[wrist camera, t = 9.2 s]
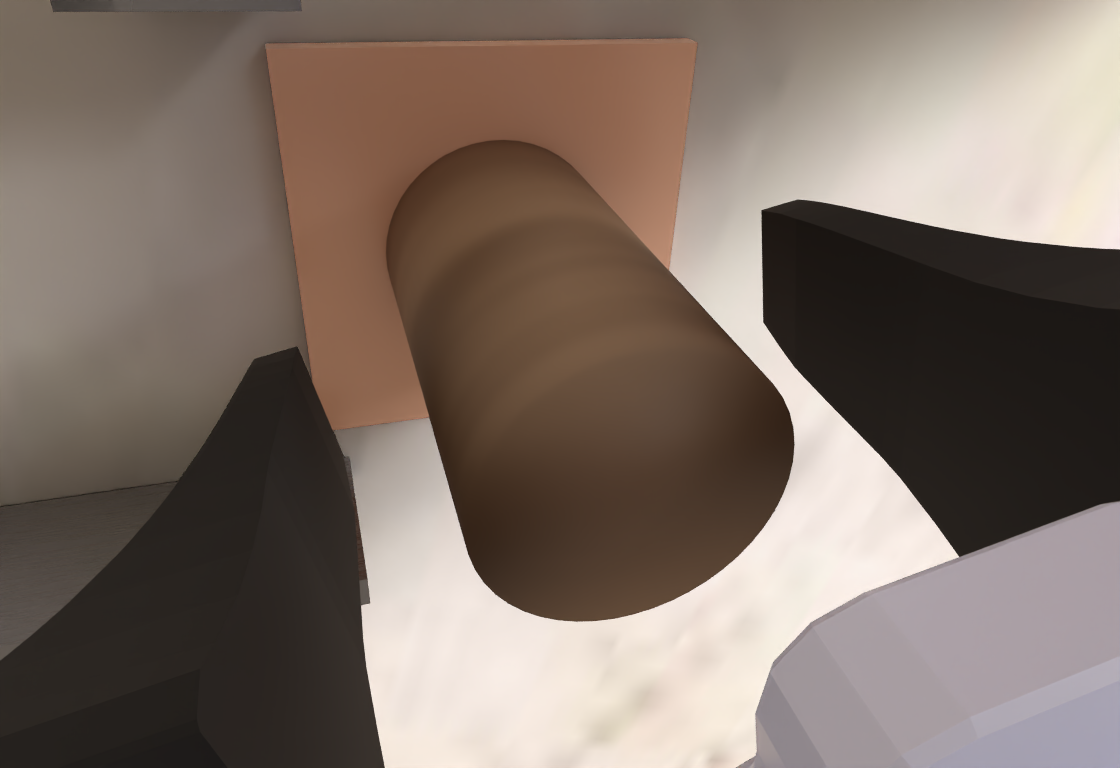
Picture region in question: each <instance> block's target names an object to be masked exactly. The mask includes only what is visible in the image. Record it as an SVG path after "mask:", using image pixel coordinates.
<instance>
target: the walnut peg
mask: <svg viewBox="0 0 1120 768" xmlns="http://www.w3.org/2000/svg"><path fill="white" fill-rule="evenodd" d="M386 260H387V268H388V273H389V277H390V281H391V284H392V288H393V291H394V295H395V298H396V302H397V305H398V309H399V312H400V316H401V319H402V323H403V326H404V330H405V333H406V337H407V340H408V344H409V348H410V351H411V355H412V358H413V362H414V365H415V369H416V372H417V376H418V379H419V383H420V386H421V390H422V393H423V397H424V400H425V404H426V407H427V411H428V414H429V418H430V421H431V425H432V428H433V432H434V435H435V439H436V442H437V446H438V449H439V453H440V456H441V460H442V463H443V467H444V471H445V474H446V478H447V481H448V485H449V488H450V492H451V495H452V499H453V502H454V506H455V509H456V513H457V516H458V520H459V523H460V527H461V530H462V534H463V537H464V541H465V544H466V548H467V551H468V555H469V557H470V559H471V562H472V564H473V566H474V568H475V570H476V572H477V573H478V575H479V576H480V578H481V579H482V580H483V582H484V583H485V584H486V585H487V586H488V587H489V588H490V589H491V590H492V591H493V592H494V593H495V594H496V595H497V596H499V597H500V598H501V599H503V600H504V601H506V602H507V603H509V604H510V605H512V606H514V607H516V608H518V609H520V610H522V611H525V612H528V613H531V614H534V615H537V616H540V617H544V618H550V619H555V620H563V621H576V622H577V621H599V620H607V619H615V618H619V617H624V616H628V615H633V614H636V613H639V612H643V611H646V610H649V609H652V608H655V607H657V606H660V605H662V604H664V603H667V602H669V601H672V600H674V599H676V598H678V597H680V596H682V595H684V594H686V593H688V592H690V591H691V590H693V589H694V588H696V587H698V586H699V585H701V584H703V583H704V582H706V581H707V580H709V579H710V578H711V577H713V576H714V575H716V574H717V573H718V572H720V571H721V570H722V569H724V568H725V567H726V566H727V565H728V564H729V563H731V562H732V561H733V560H734V559H735V558H736V557H738V556H739V555H740V554H741V553H742V552H743V550H744V549H745V548H746V547H747V546H748V545H749V544H750V543H751V542H752V541H753V540H754V539H755V537H756V536H757V535H758V534H759V532H760V531H761V530H762V529H763V527H764V526H765V525H766V523H767V521H768V520H769V518H770V517H771V515H772V514H773V512H774V511H775V509H776V507H777V505H778V503H779V501H780V499H781V497H782V495H783V493H784V490H785V487H786V485H787V482H788V479H789V476H790V472H791V467H792V463H793V455H794V431H793V425H792V421H791V417H790V413H789V410H788V408H787V406H786V404H785V401H784V399H783V397H782V396H781V394H780V393H779V392H778V390H777V389H776V387H775V386H774V384H773V383H772V382H771V381H770V380H769V379H768V378H767V377H766V376H765V375H764V373H763V372H762V371H761V370H760V369H759V368H758V367H757V366H756V365H755V364H754V363H753V362H752V360H751V359H750V358H749V357H748V356H747V355H746V354H745V353H744V352H743V351H742V350H741V348H740V347H739V346H738V345H737V344H736V343H735V342H734V341H733V340H732V339H731V338H730V337H729V335H728V334H727V333H726V332H725V331H724V330H723V329H722V328H721V327H720V326H719V325H718V323H717V322H716V321H715V320H714V319H713V318H712V317H711V316H710V315H709V314H708V313H707V312H706V310H705V309H704V308H703V307H702V306H701V305H700V304H699V303H698V302H697V301H696V300H695V298H694V297H693V296H692V295H691V294H690V293H689V292H688V291H687V290H686V289H685V288H684V287H683V285H682V284H681V283H680V282H679V281H678V280H677V279H676V278H675V277H674V276H673V275H672V273H671V272H670V271H669V270H668V269H667V268H666V267H665V266H664V265H663V264H662V263H661V262H660V260H659V259H658V258H657V257H656V256H655V255H654V254H653V253H652V252H651V251H650V250H649V248H648V247H647V246H646V245H645V244H644V243H643V242H642V241H641V240H640V239H639V238H638V237H637V235H636V234H635V233H634V232H633V231H632V230H631V229H630V228H629V227H628V226H627V225H626V223H625V222H624V221H623V220H622V219H621V218H620V217H619V216H618V215H617V214H616V213H615V212H614V210H613V209H612V208H611V207H610V206H609V205H608V204H607V203H606V202H605V201H604V200H603V198H602V197H601V196H600V195H599V194H598V193H597V192H596V191H595V190H594V189H593V188H592V187H591V185H590V184H589V183H588V182H587V181H586V180H585V179H584V178H583V177H582V176H581V175H580V173H579V172H578V171H577V170H576V169H575V168H574V167H573V166H572V165H571V164H569V163H568V162H567V161H565V160H564V159H563V158H561V157H560V156H559V155H557V154H555V153H553V152H551V151H549V150H547V149H545V148H542V147H540V146H537V145H534V144H530V143H526V142H521V141H512V140H494V141H485V142H480V143H475V144H471V145H468V146H465V147H462V148H459V149H457V150H455V151H453V152H451V153H449V154H447V155H445V156H443V157H442V158H440V159H439V160H437V161H435V162H434V163H432V164H431V165H430V166H429V167H428V168H426V169H425V170H424V171H423V172H422V173H421V174H419V176H418V177H417V178H416V179H415V180H414V181H413V182H412V183H411V184H410V186H409V187H408V188H407V190H406V191H405V193H404V194H403V196H402V197H401V199H400V201H399V203H398V205H397V207H396V209H395V211H394V213H393V216H392V219H391V222H390V225H389V230H388V235H387V241H386Z"/></svg>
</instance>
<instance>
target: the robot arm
mask: <svg viewBox="0 0 1120 768" xmlns="http://www.w3.org/2000/svg"><path fill="white" fill-rule="evenodd" d="M761 211H762V270H763V322H764V324H765V325H766V327H767V328H768V330H769V331H770V333H771V334H772V336H773V337H774V339H775V340H776V342H777V343H778V345H779V346H780V348H781V349H782V351H783V352H784V353H785V355H786V356H787V357H788V359H789V360H790V361H791V363H792V364H793V366H794V367H795V368H796V369H797V370H798V371H799V372H800V373H801V375H802V376H803V377H804V378H805V379H806V380H807V381H808V382H809V383H810V384H811V385H812V386H813V387H814V388H815V389H816V390H817V391H818V392H819V393H820V395H821V396H822V397H823V398H824V399H825V400H826V401H827V402H828V403H829V404H830V405H831V406H832V407H833V408H834V409H835V410H836V411H837V412H838V413H839V414H840V415H841V416H842V417H843V418H844V419H845V420H846V421H847V422H848V423H849V424H850V425H851V426H852V427H853V428H854V429H855V430H856V431H857V432H858V433H859V434H860V435H861V436H862V437H863V439H864V440H865V441H866V442H867V443H868V444H869V445H870V446H871V447H872V448H873V449H874V450H875V451H876V452H877V453H878V454H879V455H880V456H881V457H882V458H883V459H884V460H885V461H886V462H887V464H888V465H889V466H890V467H891V468H892V469H893V470H894V471H895V473H896V474H897V475H898V476H899V477H900V478H901V480H902V481H903V482H904V483H905V485H906V486H907V487H908V489H909V490H910V491H911V492H912V494H913V495H914V496H915V498H916V499H917V500H918V502H919V503H920V504H921V505H922V507H923V508H924V509H925V511H926V512H927V513H928V515H929V516H930V517H931V518H932V520H933V521H934V522H935V524H936V525H937V526H938V528H939V529H940V531H941V532H942V533H943V535H944V536H945V537H946V539H947V540H948V542H949V543H950V544H951V546H952V547H953V549H954V550H955V551H956V553H957V554H958V556H959V558H956V559H953V560H951V561H948V562H945V563H943V564H940V565H937V566H935V567H932V568H929V569H927V570H924V571H921V572H919V573H916V574H913V575H911V576H908V577H905V578H903V579H900V580H897V581H895V582H892V583H889V584H887V585H884V586H881V587H879V588H876V589H873V590H871V591H868V592H865V593H863V594H861V595H859V596H857V597H856V598H854V599H852V600H850V601H848V602H847V603H845V604H843V605H841V606H840V607H838V608H836V609H834V610H832V611H831V612H829V613H827V614H825V615H823V616H822V617H820V618H818V619H816V620H814V621H813V622H811V623H810V624H809V625H808V626H807V627H806V628H805V629H804V630H803V631H802V632H801V634H800V635H799V636H798V637H797V638H796V639H795V640H794V641H793V642H792V643H791V644H790V645H789V646H788V647H787V648H786V649H785V650H784V651H783V652H782V653H781V654H780V655H779V656H778V658H777V659H776V660H775V661H774V662H773V664H772V667H771V670H770V673H769V675H768V678H767V681H766V684H765V687H764V690H763V693H762V696H761V699H760V702H759V705H758V707H757V710H756V713H755V716H756V744H757V752H756V756H755V757H753V758H751V759H749V760H748V761H746V762H744V763H743V764H741V765H739V766H738V767H736V768H1120V250H1119V249H1097V248H1082V247H1069V246H1060V245H1050V244H1041V243H1031V242H1022V241H1015V240H1007V239H1000V238H994V237H988V236H983V235H977V234H971V233H965V232H960V231H954V230H949V229H944V228H939V227H934V226H929V225H924V224H920V223H915V222H910V221H906V220H901V219H897V218H892V217H888V216H884V215H879V214H875V213H870V212H866V211H861V210H857V209H852V208H848V207H843V206H838V205H833V204H828V203H822V202H816V201H808V200H795V201H791V202H788V203H784V204H781V205H778V206H774V207H771V208H767V209H764V210H761ZM0 768H385V767H384V762H383V756H382V751H381V746H380V741H379V736H378V730H377V725H376V719H375V714H374V708H373V703H372V697H371V691H370V686H369V680H368V674H367V669H366V661H365V652H364V643H363V631H362V615H361V599H360V583H359V566H358V551H357V536H356V522H355V510H354V505H353V500H352V495H351V490H350V485H349V480H348V475H347V471H346V466H345V461H344V457H343V453H342V451H341V449H340V446H339V444H338V442H337V439H336V437H335V434H334V432H333V430H332V427H331V425H330V423H329V420H328V418H327V416H326V413H325V411H324V408H323V406H322V404H321V401H320V399H319V397H318V394H317V392H316V390H315V387H314V385H313V382H312V380H311V378H310V375H309V373H308V371H307V368H306V366H305V364H304V361H303V359H302V356H301V354H300V352H299V349H298V347H294V348H290V349H287V350H283V351H280V352H277V353H273V354H270V355H266V356H263V357H260V358H256V359H254V361H253V362H252V364H251V365H250V367H249V369H248V370H247V372H246V374H245V376H244V377H243V379H242V381H241V383H240V384H239V386H238V388H237V389H236V391H235V393H234V395H233V396H232V398H231V400H230V402H229V403H228V405H227V407H226V409H225V410H224V412H223V414H222V416H221V417H220V419H219V421H218V422H217V424H216V426H215V427H214V429H213V430H212V432H211V434H210V435H209V437H208V439H207V440H206V442H205V444H204V445H203V446H202V448H201V449H200V451H199V452H198V454H197V455H196V457H195V458H194V459H193V461H192V462H191V464H190V465H189V467H188V468H187V469H186V471H185V472H184V474H183V475H182V477H181V478H180V480H179V481H178V482H177V484H176V485H175V487H174V488H173V490H172V491H171V492H170V494H169V495H168V496H167V497H166V499H165V500H164V501H163V503H162V504H161V505H160V506H159V508H158V509H157V510H156V511H155V512H154V514H153V515H152V516H151V517H150V519H149V520H148V521H147V522H146V523H145V524H144V525H143V527H142V528H141V529H140V530H139V531H138V532H137V533H136V535H135V536H134V537H133V538H132V539H131V540H130V541H129V543H128V544H127V545H126V546H125V547H124V548H123V549H122V550H121V551H120V552H119V553H118V554H117V555H116V556H115V557H114V558H113V559H112V560H111V561H110V562H109V563H108V564H107V565H106V566H105V567H104V568H103V569H102V570H101V571H100V572H99V573H98V574H97V575H96V576H95V577H94V578H93V579H92V580H91V581H90V582H89V583H88V584H87V585H86V586H85V587H84V588H83V589H82V590H81V591H80V592H79V593H78V594H77V595H76V596H75V597H74V598H73V599H72V600H71V601H70V602H69V603H68V604H66V605H65V606H64V607H63V608H62V609H61V610H60V611H59V612H58V613H56V614H55V615H54V616H53V617H52V618H51V619H50V620H48V621H47V622H46V623H45V624H44V625H43V626H41V627H40V628H39V629H38V630H37V631H36V632H35V633H33V634H32V635H31V636H30V637H29V638H27V639H26V640H25V641H24V642H23V643H21V644H20V645H19V646H18V647H16V648H15V649H14V650H13V651H11V652H10V653H9V654H8V655H7V656H5V657H4V658H3V659H2V660H0Z"/></svg>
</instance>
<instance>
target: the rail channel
mask: <svg viewBox="0 0 1120 768" xmlns="http://www.w3.org/2000/svg"><path fill="white" fill-rule="evenodd" d="M50 1H51V5H52V8H53V12H144V11H302V8H301V0H50ZM344 461H345V466H346V471H347V475H348V480H349V485H350V490H351V495H352V500H353V505H354V510H355V522H356V536H357V551H358V566H359V583H360V599H361V605H364V604H369V603H370V597H369V588H368V579H367V573H366V566H365V559H364V553H363V546H362V539H361V533H360V526H359V519H358V513H357V506H356V499H355V493H354V486H353V480H352V473H351V466H350V460H349V457H344ZM176 484H177V482H171V483H164V484H157V485H150V486H143V487H136V488H129V489H122V490H115V491H109V492H102V493H95V494H88V495H81V496H74V497H67V498H60V499H53V500H46V501H39V502H32V503H25V504H18V505H11V506H4V507H0V660H2V659H3V658H4V657H5V656H7V655H8V654H9V653H10V652H11V651H13V650H14V649H15V648H16V647H18V646H19V645H20V644H21V643H23V642H24V641H25V640H26V639H27V638H29V637H30V636H31V635H32V634H33V633H35V632H36V631H37V630H38V629H39V628H40V627H41V626H43V625H44V624H45V623H46V622H47V621H48V620H50V619H51V618H52V617H53V616H54V615H55V614H56V613H58V612H59V611H60V610H61V609H62V608H63V607H64V606H65V605H66V604H68V603H69V602H70V601H71V600H72V599H73V598H74V597H75V596H76V595H77V594H78V593H79V592H80V591H81V590H82V589H83V588H84V587H85V586H86V585H87V584H88V583H89V582H90V581H91V580H92V579H93V578H94V577H95V576H96V575H97V574H98V573H99V572H100V571H101V570H102V569H103V568H104V567H105V566H106V565H107V564H108V563H109V562H110V561H111V560H112V559H113V558H114V557H115V556H116V555H117V554H118V553H119V552H120V551H121V550H122V549H123V548H124V547H125V546H126V545H127V544H128V543H129V541H130V540H131V539H132V538H133V537H134V536H135V535H136V533H137V532H138V531H139V530H140V529H141V528H142V527H143V525H144V524H145V523H146V522H147V521H148V520H149V519H150V517H151V516H152V515H153V514H154V512H155V511H156V510H157V509H158V508H159V506H160V505H161V504H162V503H163V501H164V500H165V499H166V497H167V496H168V495H169V494H170V492H171V491H172V490H173V488H174V487H175V485H176Z"/></svg>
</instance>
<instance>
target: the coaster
mask: <svg viewBox="0 0 1120 768" xmlns="http://www.w3.org/2000/svg"><path fill="white" fill-rule="evenodd" d="M265 44H266V54H267V62H268V69H269V76H270V83H271V90H272V97H273V104H274V111H275V118H276V126H277V133H278V140H279V147H280V154H281V161H282V168H283V175H284V182H285V190H286V197H287V204H288V211H289V218H290V225H291V232H292V239H293V246H294V254H295V261H296V268H297V275H298V282H299V289H300V296H301V303H302V310H303V318H304V325H305V332H306V339H307V346H308V353H309V360H310V367H311V374H312V382H313V385H314V387H315V390H316V392H317V394H318V397H319V399H320V401H321V404H322V406H323V408H324V411H325V413H326V416H327V418H328V420H329V423H330V425H331V427H332V430H339V429H346V428H354V427H361V426H369V425H376V424H384V423H391V422H398V421H406V420H413V419H421V418H428V417H429V414H428V411H427V407H426V404H425V400H424V397H423V393H422V390H421V386H420V383H419V379H418V376H417V372H416V369H415V365H414V362H413V358H412V355H411V351H410V348H409V344H408V340H407V337H406V333H405V330H404V326H403V323H402V319H401V316H400V312H399V309H398V305H397V302H396V298H395V295H394V291H393V288H392V284H391V281H390V277H389V273H388V268H387V260H386V241H387V235H388V230H389V225H390V222H391V219H392V216H393V213H394V211H395V209H396V207H397V205H398V203H399V201H400V199H401V197H402V196H403V194H404V193H405V191H406V190H407V188H408V187H409V186H410V184H411V183H412V182H413V181H414V180H415V179H416V178H417V177H418V176H419V174H421V173H422V172H423V171H424V170H425V169H426V168H428V167H429V166H430V165H431V164H432V163H434V162H435V161H437V160H439V159H440V158H442V157H443V156H445V155H447V154H449V153H451V152H453V151H455V150H457V149H459V148H462V147H465V146H468V145H471V144H475V143H480V142H485V141H494V140H512V141H521V142H526V143H530V144H534V145H537V146H540V147H542V148H545V149H547V150H549V151H551V152H553V153H555V154H557V155H559V156H560V157H561V158H563V159H564V160H565V161H567V162H568V163H569V164H571V165H572V166H573V167H574V168H575V169H576V170H577V171H578V172H579V173H580V175H581V176H582V177H583V178H584V179H585V180H586V181H587V182H588V183H589V184H590V185H591V187H592V188H593V189H594V190H595V191H596V192H597V193H598V194H599V195H600V196H601V197H602V198H603V200H604V201H605V202H606V203H607V204H608V205H609V206H610V207H611V208H612V209H613V210H614V212H615V213H616V214H617V215H618V216H619V217H620V218H621V219H622V220H623V221H624V222H625V223H626V225H627V226H628V227H629V228H630V229H631V230H632V231H633V232H634V233H635V234H636V235H637V237H638V238H639V239H640V240H641V241H642V242H643V243H644V244H645V245H646V246H647V247H648V248H649V250H650V251H651V252H652V253H653V254H654V255H655V256H656V257H657V258H658V259H659V260H660V262H661V263H662V264H663V265H664V266H665V267H666V268H667V269H668V270H669V266H670V258H671V250H672V242H673V234H674V226H675V218H676V210H677V202H678V194H679V187H680V179H681V171H682V163H683V155H684V147H685V139H686V131H687V123H688V115H689V107H690V100H691V92H692V84H693V76H694V68H695V60H696V52H697V44H698V43H697V42H695V41H693V40H691V39H688V38H666V39H584V40H503V41H421V42H339V43H265Z"/></svg>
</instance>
